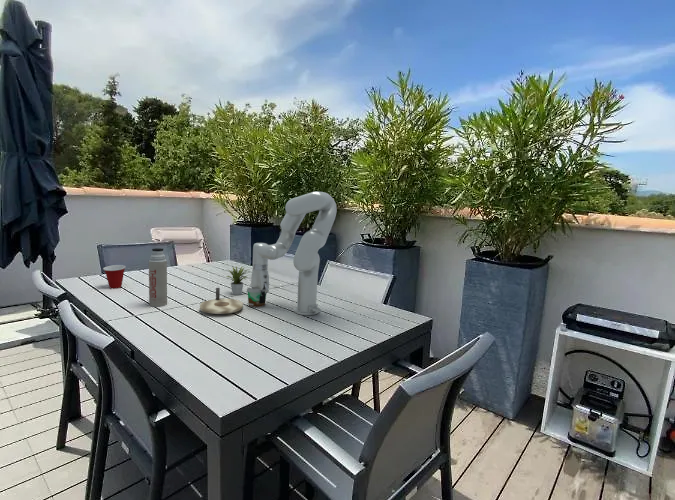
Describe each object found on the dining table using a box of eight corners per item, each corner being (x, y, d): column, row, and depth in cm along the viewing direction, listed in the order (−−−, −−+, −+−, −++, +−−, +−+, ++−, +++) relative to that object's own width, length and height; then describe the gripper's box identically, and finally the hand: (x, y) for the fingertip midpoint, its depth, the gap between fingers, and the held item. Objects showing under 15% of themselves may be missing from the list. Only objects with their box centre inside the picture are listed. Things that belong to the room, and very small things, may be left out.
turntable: (236, 302, 190) (236, 285, 189) (248, 313, 173) (248, 295, 172) (196, 306, 179) (196, 289, 178) (204, 318, 163) (204, 299, 161)
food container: (254, 309, 180) (254, 290, 179) (246, 306, 184) (246, 287, 182) (272, 304, 190) (273, 286, 189) (264, 301, 194) (265, 283, 192)
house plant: (246, 298, 198) (246, 269, 196) (220, 296, 199) (221, 267, 196) (252, 291, 213) (253, 264, 210) (229, 290, 213) (229, 263, 211)
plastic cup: (99, 288, 202) (98, 267, 200) (115, 284, 212) (115, 264, 210) (114, 290, 198) (113, 269, 197) (130, 286, 209) (130, 266, 207)
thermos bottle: (156, 307, 174) (155, 250, 170) (145, 304, 178) (144, 248, 174) (170, 304, 181) (170, 248, 177) (160, 301, 185) (159, 247, 181)
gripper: (276, 269, 181) (274, 304, 184) (256, 263, 193) (255, 296, 196) (263, 271, 176) (262, 307, 178) (244, 264, 188) (243, 298, 190)
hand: (258, 301), depth 187 cm, fingers closed on food container, 5 cm apart
